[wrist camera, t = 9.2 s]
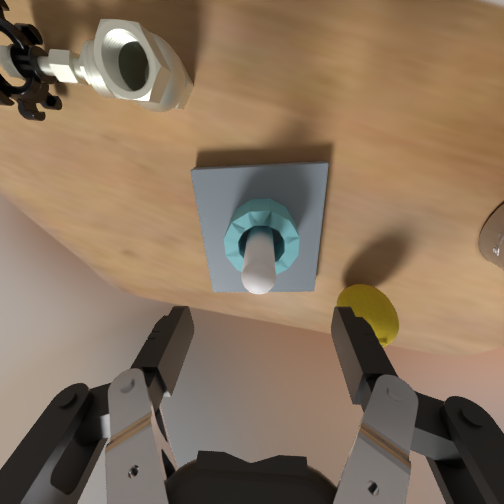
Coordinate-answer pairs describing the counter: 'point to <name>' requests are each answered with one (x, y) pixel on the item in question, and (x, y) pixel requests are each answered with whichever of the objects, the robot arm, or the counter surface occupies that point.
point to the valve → (93, 67)
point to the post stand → (263, 237)
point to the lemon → (372, 310)
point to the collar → (259, 215)
